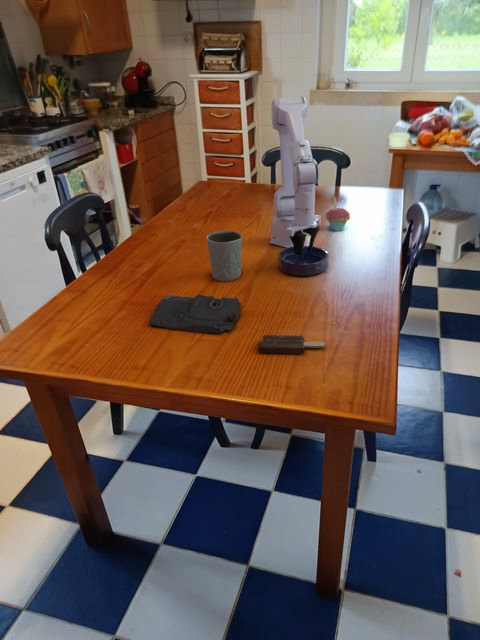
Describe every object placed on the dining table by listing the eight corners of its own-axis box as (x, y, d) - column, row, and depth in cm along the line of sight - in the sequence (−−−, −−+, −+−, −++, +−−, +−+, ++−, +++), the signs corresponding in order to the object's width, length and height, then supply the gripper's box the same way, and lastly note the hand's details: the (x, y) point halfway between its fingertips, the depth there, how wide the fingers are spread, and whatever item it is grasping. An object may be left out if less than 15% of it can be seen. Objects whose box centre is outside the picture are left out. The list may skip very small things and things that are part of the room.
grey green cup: (204, 279, 142) (200, 240, 136) (218, 266, 150) (215, 228, 144) (236, 283, 139) (233, 244, 133) (249, 270, 147) (247, 231, 140)
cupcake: (333, 233, 171) (335, 199, 164) (320, 226, 177) (322, 193, 170) (353, 229, 174) (356, 195, 167) (340, 222, 180) (342, 190, 174)
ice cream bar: (324, 341, 113) (259, 340, 114) (324, 335, 112) (259, 334, 113) (325, 354, 108) (258, 353, 109) (325, 348, 107) (258, 347, 108)
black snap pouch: (168, 298, 133) (165, 283, 130) (246, 305, 128) (245, 289, 126) (144, 327, 120) (141, 310, 118) (230, 335, 116) (228, 318, 113)
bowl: (269, 269, 147) (268, 256, 145) (297, 253, 157) (298, 241, 154) (309, 281, 139) (309, 268, 137) (336, 264, 149) (337, 252, 146)
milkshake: (311, 266, 145) (312, 233, 140) (293, 264, 146) (294, 232, 140) (312, 260, 149) (314, 228, 143) (295, 259, 150) (296, 227, 144)
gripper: (300, 216, 131) (300, 263, 139) (330, 203, 140) (328, 247, 148) (280, 211, 135) (280, 257, 142) (310, 199, 144) (309, 242, 152)
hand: (303, 252), depth 145 cm, fingers closed on milkshake, 4 cm apart
